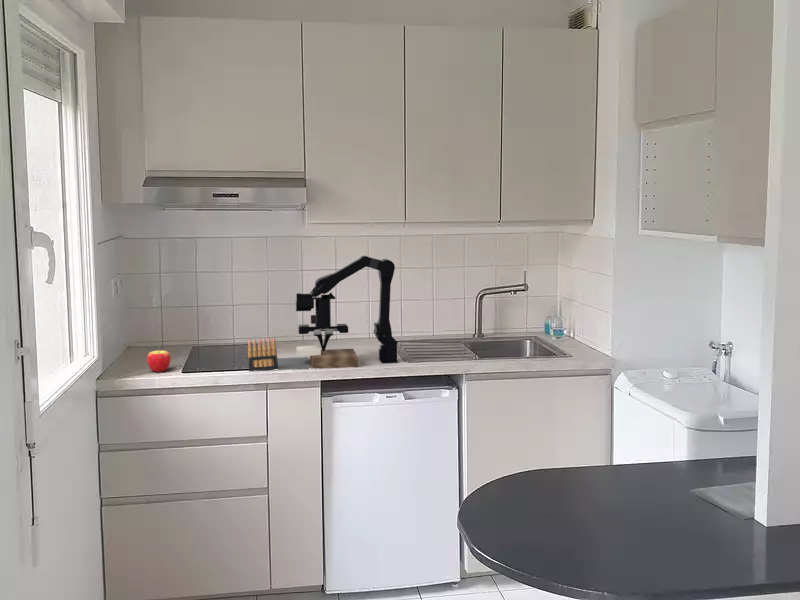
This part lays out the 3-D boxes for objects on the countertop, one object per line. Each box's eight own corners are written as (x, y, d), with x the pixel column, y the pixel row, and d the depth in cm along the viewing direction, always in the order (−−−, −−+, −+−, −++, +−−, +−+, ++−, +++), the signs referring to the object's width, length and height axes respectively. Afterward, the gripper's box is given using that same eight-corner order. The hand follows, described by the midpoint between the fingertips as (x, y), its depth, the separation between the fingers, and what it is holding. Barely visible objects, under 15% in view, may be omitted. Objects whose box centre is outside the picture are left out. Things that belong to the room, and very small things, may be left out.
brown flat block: (353, 358, 323) (352, 348, 323) (357, 366, 308) (357, 356, 307) (310, 360, 320) (309, 350, 320) (312, 368, 305) (312, 358, 304)
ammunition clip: (278, 367, 304) (275, 336, 303) (278, 368, 303) (275, 336, 301) (249, 370, 303) (246, 338, 301) (248, 371, 301) (246, 339, 299)
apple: (172, 368, 306) (171, 342, 305) (169, 373, 298) (168, 346, 296) (149, 369, 305) (148, 342, 304) (146, 374, 297) (144, 347, 295)
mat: (308, 358, 324) (308, 357, 324) (311, 368, 305) (311, 367, 305) (272, 359, 322) (272, 358, 322) (273, 370, 302) (273, 369, 302)
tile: (320, 351, 316) (319, 345, 316) (320, 355, 309) (320, 348, 309) (296, 353, 315) (296, 346, 315) (297, 356, 308) (296, 350, 308)
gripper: (345, 307, 320) (345, 346, 322) (297, 308, 317) (297, 347, 319) (348, 311, 309) (348, 351, 311) (298, 312, 306) (299, 353, 308)
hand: (323, 351), depth 313 cm, fingers closed
